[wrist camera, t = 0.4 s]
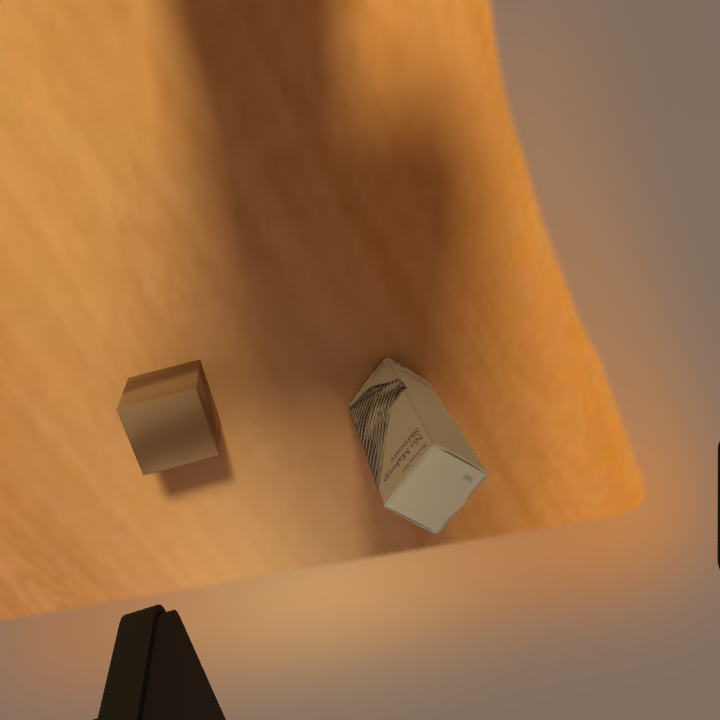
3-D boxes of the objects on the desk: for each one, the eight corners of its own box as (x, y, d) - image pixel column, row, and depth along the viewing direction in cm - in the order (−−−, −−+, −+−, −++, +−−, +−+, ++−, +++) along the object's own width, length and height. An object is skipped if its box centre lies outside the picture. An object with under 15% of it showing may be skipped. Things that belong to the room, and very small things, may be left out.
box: (385, 353, 46) (437, 438, 35) (430, 381, 48) (494, 471, 36) (344, 408, 47) (381, 509, 36) (389, 434, 49) (439, 538, 37)
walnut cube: (128, 377, 43) (116, 409, 39) (199, 359, 44) (196, 389, 39) (152, 438, 45) (143, 475, 41) (220, 420, 46) (218, 455, 41)
